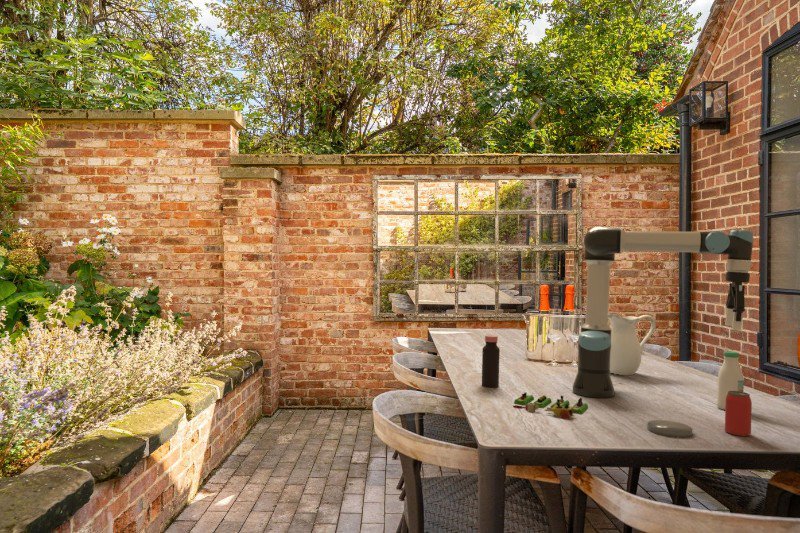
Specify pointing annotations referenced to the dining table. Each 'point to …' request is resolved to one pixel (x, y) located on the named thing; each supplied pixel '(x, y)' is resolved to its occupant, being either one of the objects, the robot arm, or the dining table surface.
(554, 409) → the toy garden set
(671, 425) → the pad
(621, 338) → the pitcher
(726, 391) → the milk bottle
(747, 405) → the beer can
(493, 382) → the vinegar
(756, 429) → the dining table surface
